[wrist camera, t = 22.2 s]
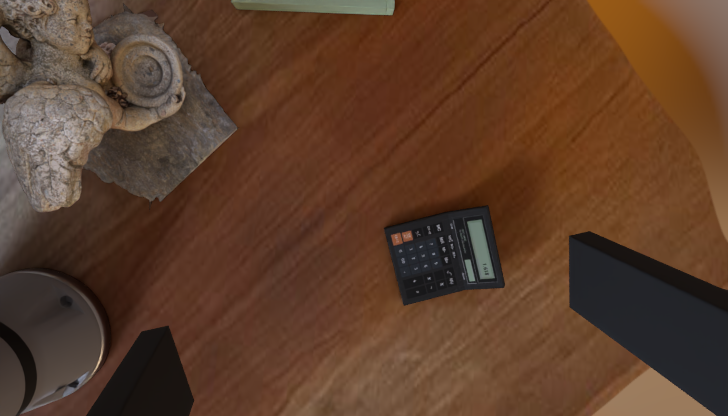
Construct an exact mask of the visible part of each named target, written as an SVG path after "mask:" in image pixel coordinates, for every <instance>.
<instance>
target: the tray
mask: <svg viewBox="0 0 728 416" xmlns="http://www.w3.org/2000/svg"><path fill="white" fill-rule="evenodd" d="M231 2H232V4H233V5H234V6H235V7H236V9H244V10H270V11H295V12H321V13H346V14H371V15H393V11H394V8H395V0H231Z"/></svg>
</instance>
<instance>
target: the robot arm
mask: <svg viewBox="0 0 728 416" xmlns="http://www.w3.org/2000/svg"><path fill="white" fill-rule="evenodd" d="M569 293H570V308H572V309H573V310H574V311H576V312H577V313H578V314H580V315H581V316H582V317H584V318H585V319H586V320H588V321H589V322H590V323H592V324H593V325H595V326H596V327H597V328H599V329H600V330H601V331H603V332H604V333H605V334H607V335H608V336H609V337H611V338H612V339H614V340H615V341H616V342H618V343H619V344H620V345H622V346H623V347H624V348H626V349H627V350H628V351H630V352H631V353H632V354H634V355H635V356H637V357H638V358H639V359H641V360H642V361H643V362H645V363H646V364H647V365H649V366H650V367H651V368H653V369H654V370H656V371H657V372H658V373H660V374H661V375H662V376H664V377H665V378H667V379H668V380H669V381H670V382H672V383H673V384H674V385H676V386H677V387H678V388H680V389H681V390H683V391H684V392H686V393H687V394H688V395H689V396H691V397H692V398H694V399H695V400H696V401H698V402H699V403H700V404H702V405H703V406H704V407H706V408H707V409H708V410H710V411H711V412H713V413H714V414H715V415H716V416H728V290H726V289H722V288H719V287H717V286H714V285H712V284H710V283H708V282H705V281H703V280H701V279H698V278H696V277H694V276H691V275H689V274H687V273H684V272H682V271H680V270H678V269H675V268H673V267H671V266H668V265H666V264H664V263H661V262H659V261H657V260H655V259H652V258H650V257H648V256H645V255H643V254H641V253H638V252H636V251H634V250H631V249H629V248H627V247H625V246H622V245H620V244H618V243H615V242H613V241H611V240H608V239H606V238H604V237H601V236H599V235H597V234H595V233H592V232H590V231H589V232H584V233H580V234H575V235H571V236H569ZM110 340H111V332H110V325H109V321H108V318H107V315H106V312H105V310H104V308H103V306H102V304H101V303H100V301H99V300H98V298H97V297H96V296H95V295H94V294H93V292H92V291H91V290H89V289H88V288H87V287H86V286H85V285H84V284H82V283H81V282H80V281H78V280H77V279H75V278H73V277H71V276H69V275H67V274H64V273H62V272H59V271H55V270H51V269H44V268H29V269H23V270H18V271H15V272H12V273H9V274H6V275H3V276H0V416H19V415H20V414H22V413H25V412H27V411H30V410H33V409H35V408H38V407H40V406H43V405H45V404H48V403H51V402H53V401H56V400H58V399H61V398H63V397H65V396H67V395H69V394H71V393H73V392H75V391H76V390H78V389H79V388H80V387H82V386H83V385H84V384H85V383H86V382H87V381H89V380H90V379H91V378H92V377H93V376H94V375H95V374H96V373H97V372H98V371H99V369H100V368H101V367H102V365H103V363H104V362H105V360H106V357H107V355H108V352H109V347H110ZM193 402H194V399H193V396H192V393H191V390H190V387H189V384H188V381H187V378H186V375H185V373H184V370H183V367H182V364H181V361H180V358H179V355H178V352H177V349H176V346H175V343H174V340H173V337H172V334H171V331H170V329H169V326H165V327H160V328H156V329H151V330H147V331H142V332H141V333H140V335H139V336H138V338H137V339H136V341H135V342H134V344H133V346H132V347H131V349H130V350H129V352H128V353H127V355H126V356H125V358H124V359H123V361H122V362H121V364H120V365H119V367H118V368H117V370H116V371H115V373H114V374H113V376H112V377H111V379H110V380H109V382H108V383H107V385H106V387H105V388H104V390H103V391H102V393H101V394H100V396H99V397H98V399H97V400H96V402H95V403H94V405H93V406H92V408H91V409H90V411H89V412H88V414H87V415H86V416H189V414H190V411H191V408H192V405H193Z"/></svg>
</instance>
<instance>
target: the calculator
mask: <svg viewBox="0 0 728 416" xmlns="http://www.w3.org/2000/svg"><path fill="white" fill-rule="evenodd" d="M384 230H385V234H386V238H387V242H388V246H389V250H390V254H391V258H392V262H393V266H394V269H395V273H396V277H397V281H398V285H399V289H400V293H401V297H402V301H403V304H404V305H408V304H412V303H416V302H420V301H424V300H428V299H432V298H435V297H439V296H443V295H447V294H451V293H455V292H459V291H462V290H470V289H490V288H504V286H505V282H504V278H503V273H502V268H501V263H500V259H499V254H498V249H497V245H496V240H495V235H494V230H493V226H492V221H491V216H490V212H489V207H488V205H486V206H480V207H474V208H468V209H461V210H455V211H449V212H444V213H440V214H436V215H432V216H428V217H424V218H420V219H417V220H413V221H409V222H405V223H401V224H397V225H393V226H389V227H386V228H384Z"/></svg>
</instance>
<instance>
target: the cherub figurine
mask: <svg viewBox="0 0 728 416" xmlns="http://www.w3.org/2000/svg"><path fill="white" fill-rule="evenodd" d="M123 6H124V12H122V13H119V14H117V15H115V16H112V15H111V18H110V19H108V18H109V17H108V18H107V19H106V20H105V21H103V22H102V23H100V24H99V25H97V26H96V27H94V28H92V26H91V24H92V18H91V15H90V8H89V3H88V0H0V28H1V26H3V27H4V28H6V29H7V30H8V31H9V33H10V34H11V35H12V36H14V37H16V38H20V39H19V41H18V43H17V46H16V55H15V54H13V53H12V52H11V51H10V50H9V48H8V47H7V46H6V44H5V43H4V42H3V40H2V38H1V36H0V104H3V103H5V105H4V112H5V114H4V119H3V123H2V128H3V135H4V138H5V140H6V148H7V152H8V155H9V158H10V161H11V163H12V165H13V167H14V170H15V172H16V175H17V177H18V180H19V182H20V184H21V186H22V188H23V191H24V192H25V193H26V194H27V197H28V200H29V202H30V204H31V206H32V207H33V208H34V209H35V210H36V211H37V212H50V211H54V210H58V209H59V208H60V207H70V206H71V205H73V204H74V203H75V202H76V201H77V200H79V198H80V194H81V188H82V186H81V180H82V179H81V171H82V168H84V169H86V170H91V171H93V172H95V173H97V174H96V175H97V176H98V177H100V178H101V180H102V181H104V182H106V183H112V182H113V181H114V182H115V183H116V184H117V185H119V186H121V187H122V188H124V189H127V190H128V192H129V193H132V194H134V195H136V196H139V197H145V198H147V199H149V212H150V207H151V203H152V201H153V200H154V199H155V198H156V197H158V198H159V201H160V202H161V201H162V200H163V199H164V198H165V197H166V196H167V195H168V194H169V193H170V192H171V191H172V190H174V189H175V188H176V187H177V186H178V185H179V184H180V183H181V182H182V181H183V180H184V179H185V178H186V177H187V176H188V175H189V174H190V173H192V172H193V171H194V170H195V169H196V168H197V167H198V166H199V165H200V164H201V163H202V162H203V161H204V160H205V159H206V158H207V157H208V156H210V155H211V154H212V153H213V152H214V151H215V150H216V149H217V148H218V147H219V146H220V145H221V144H222V143H223V142H224V141H225V140H226V139H228V138H229V137H230V136H231V135H232V134H233V133H234V132H235V131H236V130H237V129H238V128H237V126H236V125H235V124H234V123H233V121H232V120H231V119H230V118H229V117H228V116H227V114H226V113H225V112H223V108H221V106H219V104H218V103H217V101H216V99H214V97H213V96H212V95H211V94H210V93H209V91H208V90H206V88H205V85H204V84H203V82H202V80H201V76H200V74H199V75H197V74H196V71H190V69H191V65H188V62H187V60H188V59H187V58H185V57H184V55H183V54H182V52H181V51H180V48H177V45H176V44H175V43H174V42H172V38H171V37H170V36H169V35H167V34H165V32H164V31H163V27H164V23H162V24H158V23H156V22H154V20H155V19H156V18H157V17H158V15H157V14H156V13H155V12H154V11H153V10H149V11H146V12H142V13H139V14H133V13H132V12H131V11H130V10H129V9H128V8H127V6H126V5H125V4H124V3H123ZM157 24H158V25H159V26H158V25H157Z"/></svg>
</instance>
